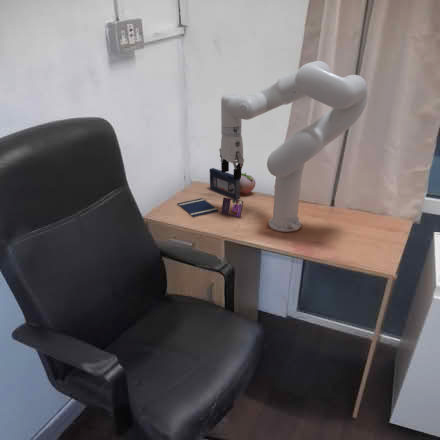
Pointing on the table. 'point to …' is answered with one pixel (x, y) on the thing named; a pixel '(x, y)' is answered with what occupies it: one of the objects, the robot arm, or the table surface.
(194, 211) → the cloth
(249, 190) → the decorative fruit
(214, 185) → the vhs cassette tape
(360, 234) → the table surface
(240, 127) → the robot arm
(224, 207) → the monster skateboard toy
